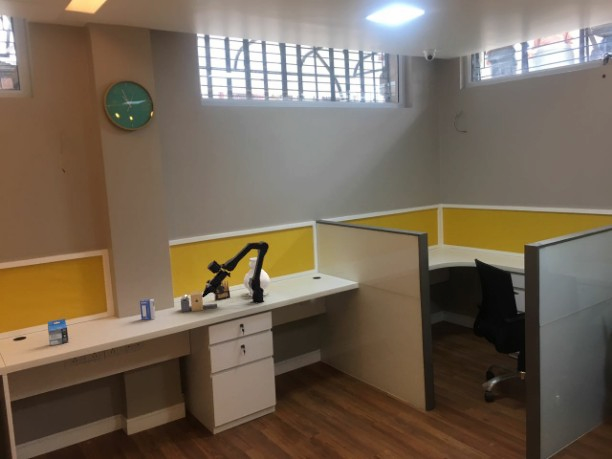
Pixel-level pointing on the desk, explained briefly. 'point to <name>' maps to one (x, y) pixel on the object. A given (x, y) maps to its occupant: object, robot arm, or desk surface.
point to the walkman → (147, 309)
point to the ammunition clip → (224, 295)
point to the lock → (196, 301)
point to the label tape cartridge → (57, 332)
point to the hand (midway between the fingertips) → (202, 296)
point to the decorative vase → (263, 277)
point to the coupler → (187, 308)
